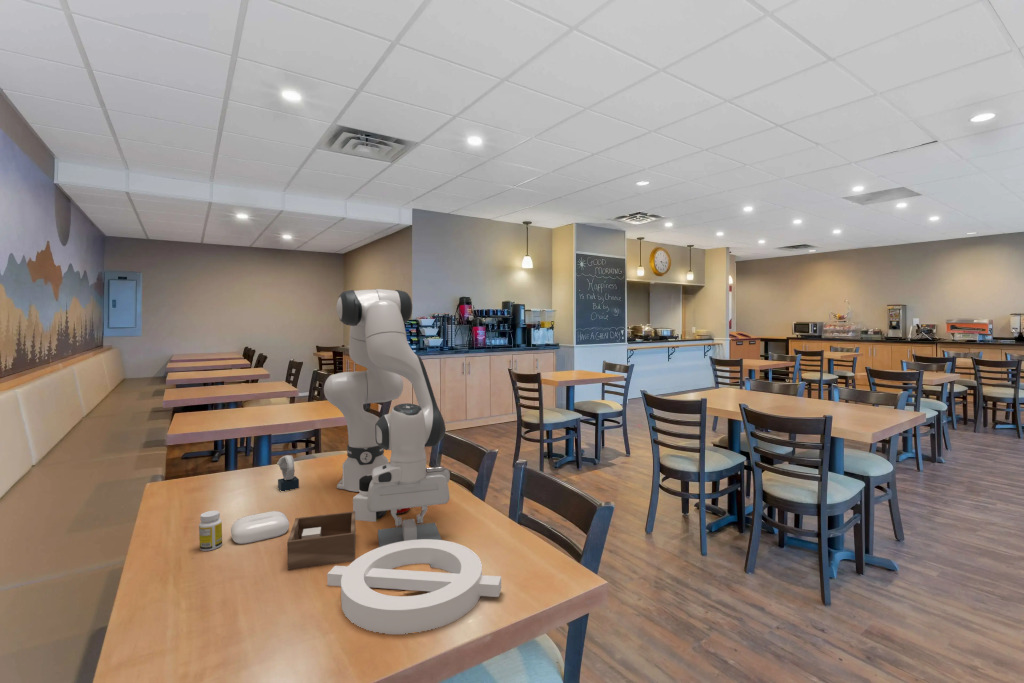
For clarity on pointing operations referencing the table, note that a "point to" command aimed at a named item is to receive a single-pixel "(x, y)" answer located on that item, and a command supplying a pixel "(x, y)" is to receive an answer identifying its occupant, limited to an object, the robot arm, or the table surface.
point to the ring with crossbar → (412, 586)
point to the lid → (408, 532)
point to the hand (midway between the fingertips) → (409, 524)
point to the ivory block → (311, 533)
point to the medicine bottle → (365, 502)
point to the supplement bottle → (210, 531)
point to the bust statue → (287, 474)
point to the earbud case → (259, 527)
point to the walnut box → (322, 541)
